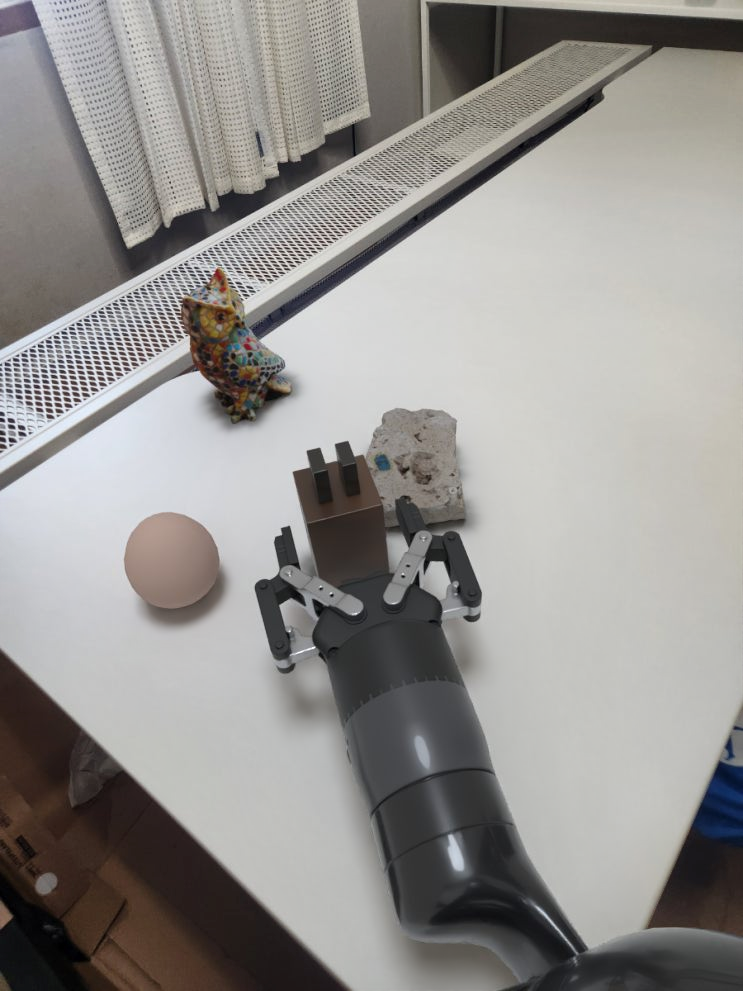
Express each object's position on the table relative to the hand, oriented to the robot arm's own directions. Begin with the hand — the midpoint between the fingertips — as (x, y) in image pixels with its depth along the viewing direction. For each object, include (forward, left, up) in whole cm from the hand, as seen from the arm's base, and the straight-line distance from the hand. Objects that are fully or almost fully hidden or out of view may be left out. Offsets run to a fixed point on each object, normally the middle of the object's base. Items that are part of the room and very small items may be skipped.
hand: (343, 519), depth 49 cm
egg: (+12, +7, -8) cm, 16 cm away
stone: (0, -12, -8) cm, 15 cm away
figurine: (+22, -16, -8) cm, 29 cm away
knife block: (0, 0, -8) cm, 8 cm away
